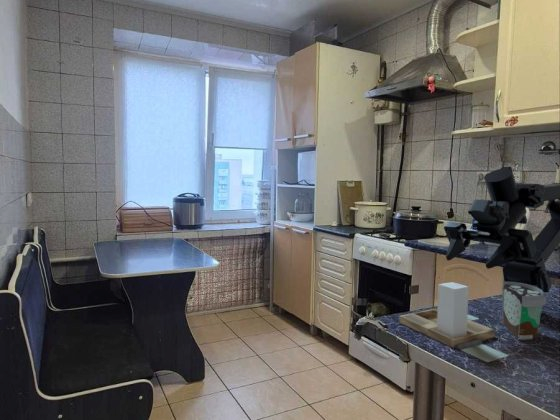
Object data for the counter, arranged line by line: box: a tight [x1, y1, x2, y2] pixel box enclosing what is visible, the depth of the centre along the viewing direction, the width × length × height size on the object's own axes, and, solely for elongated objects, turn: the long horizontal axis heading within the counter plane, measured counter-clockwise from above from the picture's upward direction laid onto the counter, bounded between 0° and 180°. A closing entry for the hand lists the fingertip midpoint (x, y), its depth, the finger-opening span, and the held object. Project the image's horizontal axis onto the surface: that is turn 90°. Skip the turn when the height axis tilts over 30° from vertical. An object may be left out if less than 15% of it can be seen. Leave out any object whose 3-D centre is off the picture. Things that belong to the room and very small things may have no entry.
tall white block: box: [437, 281, 470, 339], centre depth 82 cm, size 4×4×11 cm
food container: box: [501, 280, 547, 342], centre depth 85 cm, size 12×6×10 cm, turn 168°
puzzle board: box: [398, 307, 510, 363], centre depth 86 cm, size 18×22×2 cm
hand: (466, 262), depth 85 cm, fingers open, 9 cm apart
